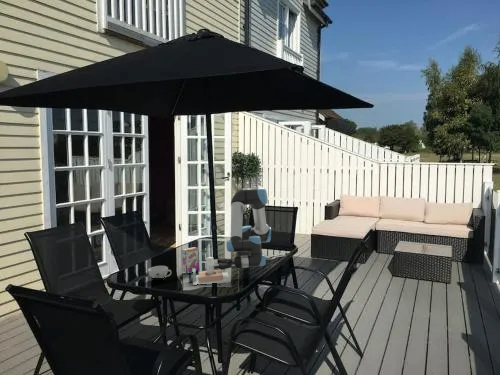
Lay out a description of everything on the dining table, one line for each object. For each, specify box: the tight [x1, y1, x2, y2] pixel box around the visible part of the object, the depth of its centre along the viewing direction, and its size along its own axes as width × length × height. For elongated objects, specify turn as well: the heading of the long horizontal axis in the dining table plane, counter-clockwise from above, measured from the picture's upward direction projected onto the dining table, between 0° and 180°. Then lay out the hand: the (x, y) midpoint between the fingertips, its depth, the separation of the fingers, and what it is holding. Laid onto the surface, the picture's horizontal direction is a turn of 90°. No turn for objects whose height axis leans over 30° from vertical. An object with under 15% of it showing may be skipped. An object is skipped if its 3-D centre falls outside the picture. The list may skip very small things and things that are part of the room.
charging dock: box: [192, 268, 232, 286], centre depth 269 cm, size 20×23×7 cm
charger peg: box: [205, 256, 215, 275], centre depth 269 cm, size 4×4×13 cm
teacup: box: [147, 265, 172, 279], centre depth 274 cm, size 15×12×8 cm
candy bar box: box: [181, 246, 200, 273], centre depth 290 cm, size 11×5×16 cm, turn 134°
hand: (207, 264), depth 269 cm, fingers open, 13 cm apart
